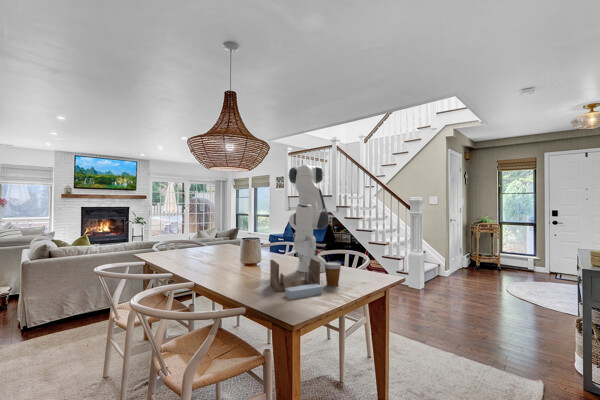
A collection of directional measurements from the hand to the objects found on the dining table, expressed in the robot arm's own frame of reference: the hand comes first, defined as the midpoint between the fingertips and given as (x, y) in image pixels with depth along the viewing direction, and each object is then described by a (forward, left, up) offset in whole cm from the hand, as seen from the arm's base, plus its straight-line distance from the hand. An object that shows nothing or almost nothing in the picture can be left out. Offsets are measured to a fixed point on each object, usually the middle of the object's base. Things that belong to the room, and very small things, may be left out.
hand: (304, 263), depth 147 cm
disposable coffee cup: (-21, -11, -16) cm, 29 cm away
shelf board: (0, 0, -16) cm, 16 cm away
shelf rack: (0, -15, -15) cm, 22 cm away
